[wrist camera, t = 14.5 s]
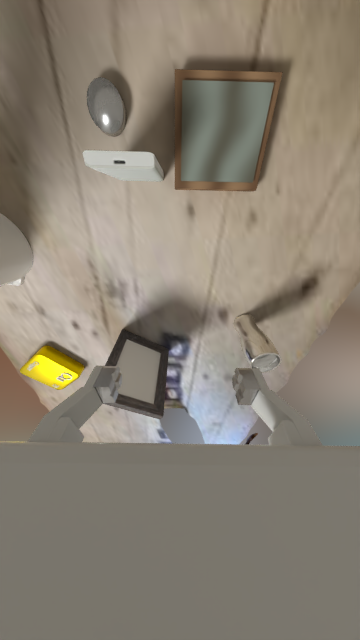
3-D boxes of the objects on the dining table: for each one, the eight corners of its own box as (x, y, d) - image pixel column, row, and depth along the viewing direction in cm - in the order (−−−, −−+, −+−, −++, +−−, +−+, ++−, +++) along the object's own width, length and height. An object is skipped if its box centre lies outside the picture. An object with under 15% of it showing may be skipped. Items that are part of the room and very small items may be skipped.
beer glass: (226, 323, 48) (242, 364, 35) (246, 308, 45) (271, 347, 32) (241, 335, 50) (260, 377, 38) (260, 321, 47) (288, 362, 35)
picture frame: (168, 349, 54) (163, 416, 37) (165, 352, 55) (159, 420, 38) (122, 329, 49) (91, 396, 32) (120, 333, 50) (88, 400, 33)
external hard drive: (163, 182, 29) (155, 169, 19) (118, 180, 29) (85, 167, 19) (163, 169, 28) (154, 150, 18) (116, 168, 28) (80, 147, 18)
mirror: (175, 189, 30) (174, 188, 28) (175, 81, 23) (174, 66, 21) (250, 191, 30) (257, 190, 28) (273, 84, 23) (284, 69, 21)
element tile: (46, 342, 53) (35, 353, 49) (87, 366, 60) (80, 377, 56) (26, 362, 58) (15, 373, 55) (66, 381, 65) (59, 392, 61)
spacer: (98, 136, 26) (92, 132, 25) (88, 85, 23) (81, 76, 22) (129, 137, 26) (125, 132, 25) (123, 86, 24) (119, 77, 22)
